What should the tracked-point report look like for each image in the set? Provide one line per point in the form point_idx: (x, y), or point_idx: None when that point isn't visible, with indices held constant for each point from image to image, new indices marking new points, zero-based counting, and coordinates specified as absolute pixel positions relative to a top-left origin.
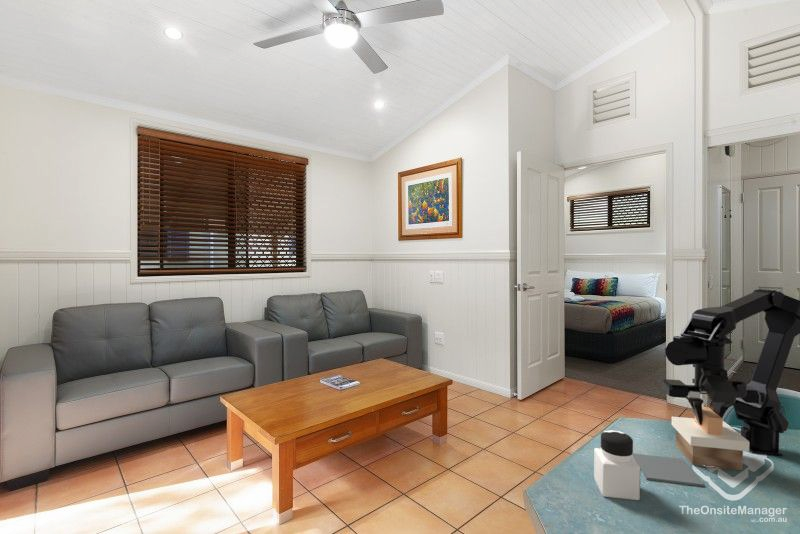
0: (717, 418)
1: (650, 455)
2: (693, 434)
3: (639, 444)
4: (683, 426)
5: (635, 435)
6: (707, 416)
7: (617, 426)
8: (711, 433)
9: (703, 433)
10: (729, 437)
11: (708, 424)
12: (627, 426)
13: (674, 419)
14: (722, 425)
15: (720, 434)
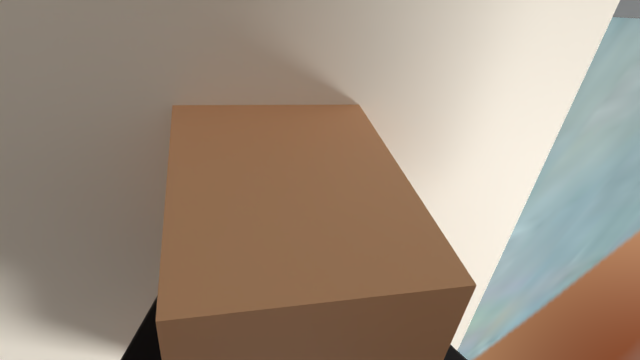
0: (282, 300)
1: (629, 15)
2: (550, 45)
3: (553, 167)
4: (494, 231)
5: (502, 256)
6: (442, 326)
7: (522, 312)
8: (314, 110)
9: (405, 104)
10: (85, 45)
11: (397, 187)
12: (477, 325)
13: (461, 340)
14: (166, 198)
15: (197, 108)
